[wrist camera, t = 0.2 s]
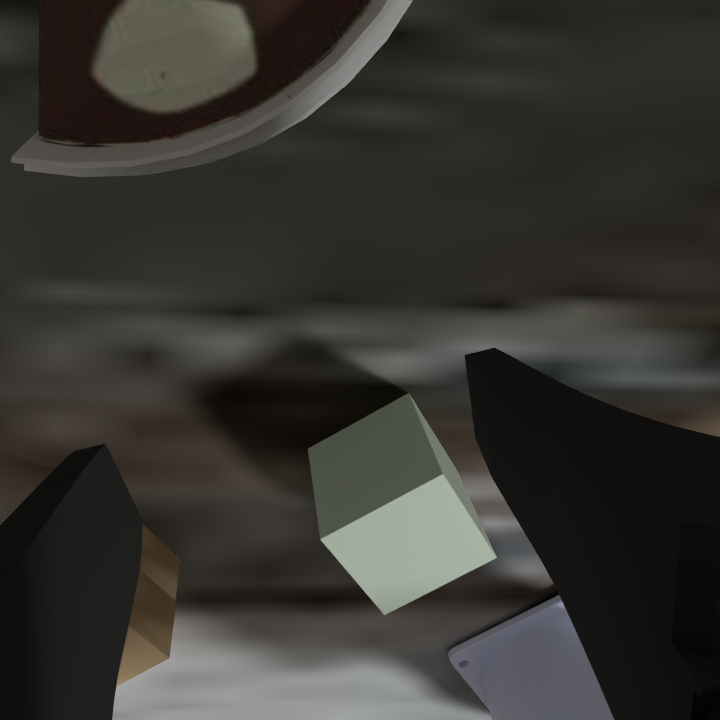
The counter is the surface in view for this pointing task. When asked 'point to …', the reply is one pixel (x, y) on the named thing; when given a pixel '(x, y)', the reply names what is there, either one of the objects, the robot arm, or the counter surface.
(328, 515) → the sage block
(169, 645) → the slab upper
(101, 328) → the counter surface
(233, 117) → the food container
